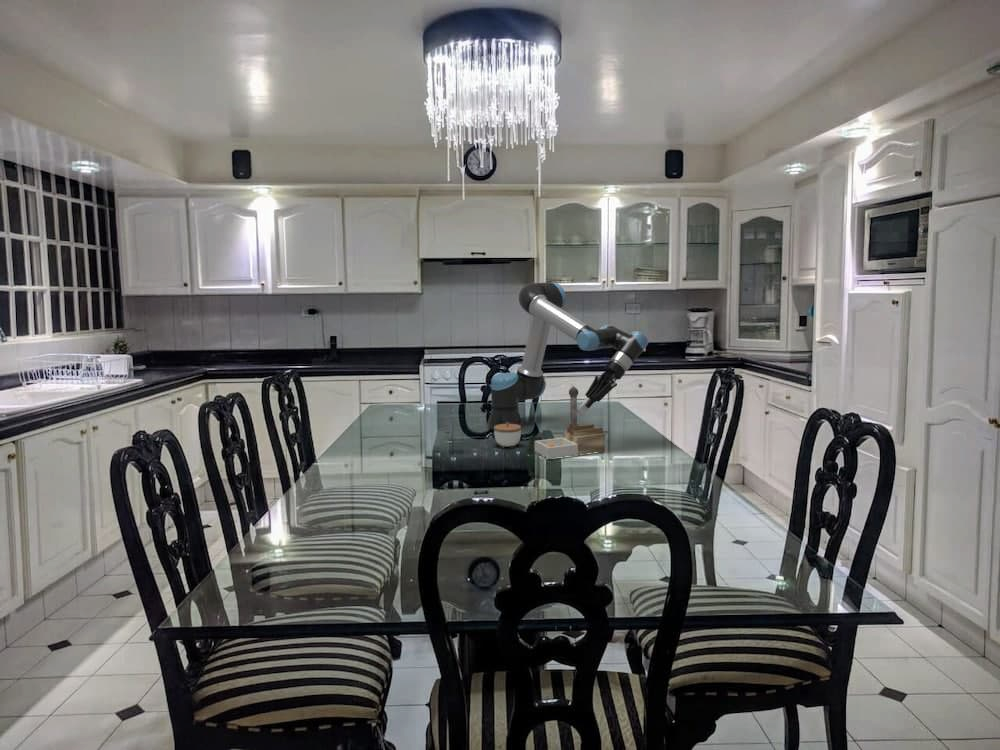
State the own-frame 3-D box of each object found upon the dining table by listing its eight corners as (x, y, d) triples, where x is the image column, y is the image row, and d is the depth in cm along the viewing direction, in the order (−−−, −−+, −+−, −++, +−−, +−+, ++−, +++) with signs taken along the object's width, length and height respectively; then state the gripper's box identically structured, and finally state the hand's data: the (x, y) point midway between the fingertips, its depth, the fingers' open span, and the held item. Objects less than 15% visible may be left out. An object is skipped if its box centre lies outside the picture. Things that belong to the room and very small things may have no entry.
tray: (534, 452, 276) (534, 440, 276) (562, 448, 281) (562, 437, 280) (549, 460, 266) (548, 448, 265) (577, 456, 270) (577, 444, 269)
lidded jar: (498, 450, 281) (497, 426, 279) (491, 443, 291) (490, 420, 289) (524, 447, 284) (524, 424, 282) (516, 441, 294) (516, 418, 292)
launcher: (563, 449, 281) (563, 426, 279) (590, 445, 285) (590, 423, 284) (577, 455, 271) (577, 432, 269) (605, 452, 275) (605, 428, 274)
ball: (553, 446, 275) (547, 454, 274) (546, 440, 273) (539, 448, 273) (558, 448, 271) (551, 457, 270) (551, 442, 269) (544, 451, 269)
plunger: (566, 432, 276) (566, 387, 274) (574, 431, 278) (574, 386, 275) (572, 435, 272) (572, 389, 270) (580, 434, 274) (580, 388, 271)
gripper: (633, 374, 274) (594, 422, 270) (614, 370, 286) (577, 416, 282) (621, 361, 271) (582, 410, 267) (603, 357, 283) (565, 403, 279)
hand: (579, 413), depth 274 cm, fingers closed
